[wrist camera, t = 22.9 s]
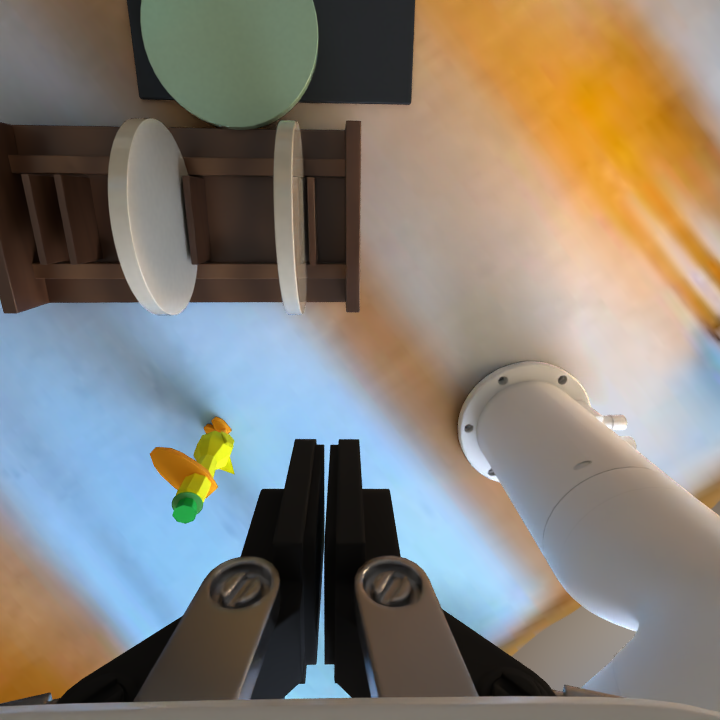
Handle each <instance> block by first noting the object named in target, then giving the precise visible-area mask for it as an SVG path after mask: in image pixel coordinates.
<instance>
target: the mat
mask: <svg viewBox="0 0 720 720" xmlns="http://www.w3.org/2000/svg"><path fill="white" fill-rule="evenodd" d="M313 2H314V6H315V10H316V15H317V22H318V32H319V47H318V57H317V62H316V67H315V70H314V73H313V76H312V79H311V81H310V83H309V85H308V87H307V89H306V91H305V93H304V94H303V96H302V97H301V99H300V100H299V101H298V102H300V103H352V104H404V105H409V104H410V103H411V93H412V67H413V41H414V15H415V0H313ZM127 5H128V12H129V20H130V28H131V35H132V43H133V51H134V58H135V66H136V74H137V81H138V89H139V97H140V98H141V99H144V100H175V99H174V98H173V97H172V96H171V95H170V94H169V93H168V92H167V91H166V89H165V88H164V87H163V85H162V84H161V82H160V81H159V79H158V78H157V76H156V74H155V72H154V70H153V68H152V66H151V64H150V62H149V59H148V56H147V53H146V51H145V47H144V43H143V38H142V32H141V23H140V9H141V0H127Z"/></svg>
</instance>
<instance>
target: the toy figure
mask: <svg viewBox="0 0 720 720" xmlns="http://www.w3.org/2000/svg"><path fill="white" fill-rule="evenodd" d="M211 422H212V424H213V425H211V424H207V425H206V426H205V427H204V430H205V432H206V434H205V435H202V437H201V439H200V440H199V442H198V444H197V446H196V449H195V452H194V455H193V456H194V457H195V459H196V461H197V462H196V461H195V460H193V459H192V458H190V457H188V456H187V455H185V454H184V453H182V452H180V451H177V450H175V449H172V448H164V447H156V448H155V449H154V450H153V451H152V452H151V453H150V456H151V459H152V462H153V464H154V467H155V468H156V469H157V471H158V472H159V473H160V475H161V476H162V477H163V478H164V479H166V480H167V481H168V482H169V483H170V484H171V485H172V486H173V487H174V488H176V489H177V490H178V491H177V493H176V496H175V497H174V498H173V500H172V508H173V510H174V512H173V517H174V518H175V519H176V521H177V522H181V523H189V522H191V521H194V519H195V516H196V514H198V513H199V512H200V511H201V510H202V508H203V502H204V500H205V498H207V497H208V496H209V495H210V494H211V493H212V492H213V491H215V490H216V489H217V488H218V486H217V484H216V482H215V481H214V479H213V477H214V473H215V470H217V469H221V470H224V471H227V472H229V473H232V474H234V470H233V467H232V463H231V459H230V454H231V452H232V449H233V443H234V440H233V438H232V437H231V436H230V435H229V434H228V433H230V432H231V431H232V430H231V428H230V427H229V426H228V425H227V423H226V422H225V421H224V420H223V419H221V418H218V417H215V418H214V419H212V420H211Z"/></svg>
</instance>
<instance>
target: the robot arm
mask: <svg viewBox="0 0 720 720" xmlns="http://www.w3.org/2000/svg"><path fill="white" fill-rule="evenodd" d="M500 377H502V378H501V379H499V378H500ZM559 377H560V378H559ZM466 425H467V426H466ZM626 427H627V420H626V418H625V416H624V415H607V416H602V415H601V414H599V413H598V412H597V411H595V410H594V409H593V408H592V407H591V406H590V401H589V398H588V396H587V394H586V391H585V390H584V388H583V387H582V386H581V384H580V383H579V382H578V381H577V380H576V379H575V378H574V377H573V376H571V375H570V374H569V373H567V372H566V371H564V370H563V369H561V368H559V367H557V366H554V365H552V364H549V363H543V362H538V361H528V362H519V363H514V364H510V365H508V366H505V367H502V368H500V369H498V370H496V371H494V372H493V373H491V374H489V375H487V376H486V377H485V378H484V379H483V380H482V381H480V382H479V383H478V384H477V385H476V386H475V387H474V389H473V390H472V391H471V392H470V393H469V395H468V397H467V398H466V400H465V402H464V404H463V406H462V409H461V412H460V415H459V420H458V438H459V442H460V445H461V448H462V450H463V452H464V454H465V456H466V458H467V460H468V461H469V462H470V464H471V465H472V466H473V467H474V468H475V469H476V470H477V471H478V472H479V473H480V474H482V475H484V476H485V477H487V478H489V479H491V480H494V481H497V482H500V483H501V485H502V486H503V488H504V490H505V491H506V493H507V495H508V497H509V498H510V500H511V502H512V503H513V505H514V507H515V508H516V510H517V512H518V513H519V515H520V517H521V518H522V520H523V522H524V523H525V525H526V527H527V528H528V530H529V532H530V533H531V535H532V537H533V538H534V540H535V542H536V543H537V545H538V547H539V549H540V550H541V552H542V554H543V555H544V557H545V559H546V560H547V562H548V564H549V566H550V567H551V569H552V571H553V572H554V574H555V576H556V577H557V579H558V580H559V582H560V583H561V585H562V586H563V587H564V589H565V590H566V591H567V592H568V593H569V594H570V595H571V596H572V598H573V599H575V600H576V601H577V602H578V603H579V604H581V605H582V606H583V607H585V608H586V609H587V610H589V611H590V612H592V613H593V614H595V615H597V616H599V617H601V618H603V619H605V620H607V621H609V622H611V623H614V624H617V625H619V626H622V627H625V628H627V629H631V630H633V631H637V632H636V634H635V635H634V637H633V638H632V639H631V640H630V641H629V642H628V643H627V644H626V645H625V646H624V647H623V648H622V649H621V650H620V651H619V652H618V653H617V654H616V655H615V656H614V658H613V660H612V661H611V662H610V663H609V664H608V665H607V666H605V667H604V668H603V669H602V670H601V671H600V672H598V673H597V675H595V676H594V677H593V678H592V679H591V680H589V681H588V682H587V683H586V684H585V685H584V686H583V687H582V688H578V687H573V686H569V685H564V689H563V692H561V691H556V690H552V689H551V688H550V686H549V685H548V684H547V683H546V682H545V681H544V680H543V679H542V678H540V677H539V676H538V675H537V674H536V673H534V672H533V671H532V670H530V669H529V668H527V667H526V666H524V665H523V664H521V663H520V662H519V661H517V660H515V659H514V658H513V657H511V656H510V655H508V654H507V653H505V652H504V651H503V650H501V649H500V648H498V647H497V646H495V645H494V644H492V643H491V642H489V641H488V640H486V639H485V638H484V637H482V636H481V635H479V634H478V633H476V632H475V631H473V630H472V629H470V628H469V627H468V626H466V625H465V624H463V623H462V622H460V621H459V620H457V619H456V618H454V617H453V616H452V615H450V614H449V613H447V612H446V611H444V610H443V609H441V606H440V604H439V601H438V599H437V597H436V594H435V592H434V590H433V587H432V585H431V583H430V580H429V578H428V576H427V575H426V573H425V572H424V570H423V569H422V568H420V567H419V566H418V565H417V564H416V563H414V562H412V561H410V560H408V559H406V558H402V557H401V556H400V550H399V544H398V538H397V532H396V526H395V519H394V513H393V507H392V501H391V495H390V490H389V489H362V478H361V462H360V446H359V440H357V439H339V445H330V461H329V477H328V493H327V509H326V525H325V546H324V445H317V444H316V439H295V442H294V447H293V451H292V456H291V460H290V465H289V470H288V474H287V479H286V483H285V488H284V489H262V490H261V492H260V495H259V498H258V501H257V505H256V508H255V511H254V515H253V518H252V521H251V524H250V528H249V531H248V534H247V538H246V541H245V544H244V547H243V551H242V554H241V557H238V558H234V559H230V560H228V561H226V562H224V563H222V564H220V565H218V566H217V567H216V568H214V569H213V570H212V571H211V572H210V573H209V574H208V575H207V577H206V578H205V579H204V581H203V582H202V584H201V586H200V588H199V589H198V591H197V593H196V594H195V596H194V598H193V600H192V601H191V603H190V605H189V606H188V608H187V610H186V612H185V613H184V615H183V616H182V617H180V618H179V619H177V620H175V621H174V622H172V623H171V624H169V625H167V626H166V627H164V628H163V629H161V630H160V631H158V632H156V633H155V634H153V635H152V636H150V637H148V638H147V639H145V640H144V641H142V642H140V643H139V644H137V645H136V646H134V647H133V648H131V649H129V650H128V651H126V652H125V653H123V654H121V655H120V656H118V657H117V658H115V659H114V660H112V661H110V662H109V663H107V664H106V665H104V666H102V667H101V668H99V669H98V670H96V671H94V672H93V673H91V674H90V675H88V676H87V677H85V678H83V679H82V680H81V681H79V682H78V683H77V684H75V685H74V686H73V687H71V688H70V689H69V690H68V691H67V692H66V693H65V694H64V695H63V696H62V697H61V698H59V699H54V700H52V696H51V692H50V693H46V694H42V695H37V696H33V697H28V698H24V699H19V700H15V701H11V702H6V703H2V704H0V720H720V516H719V515H718V514H716V513H715V512H714V511H712V510H711V509H710V508H708V507H707V506H706V505H704V504H703V503H702V502H700V501H699V500H698V499H696V498H695V497H694V496H693V495H691V494H690V493H689V492H688V491H686V490H685V489H684V488H683V487H681V486H680V485H679V484H678V483H677V482H675V481H674V480H673V479H672V478H670V477H669V476H668V475H667V474H665V473H664V472H663V471H662V470H660V469H659V468H658V467H657V466H655V465H654V464H653V463H652V462H651V461H649V460H648V459H647V458H646V457H644V456H643V455H642V454H641V453H639V452H638V451H637V450H636V443H635V441H634V439H633V438H632V437H630V436H618V435H617V434H616V433H615V432H613V431H612V430H624V429H626ZM323 553H324V635H325V664H335V675H334V681H335V683H337V684H338V685H340V686H341V687H342V688H343V689H344V690H345V691H346V692H347V693H348V694H349V695H350V696H351V697H352V698H319V699H285V696H286V695H287V694H288V693H289V692H290V691H291V690H292V689H293V688H295V687H296V686H297V685H298V684H305V678H306V666H307V665H316V663H317V648H318V632H319V617H320V601H321V585H322V569H323Z"/></svg>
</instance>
